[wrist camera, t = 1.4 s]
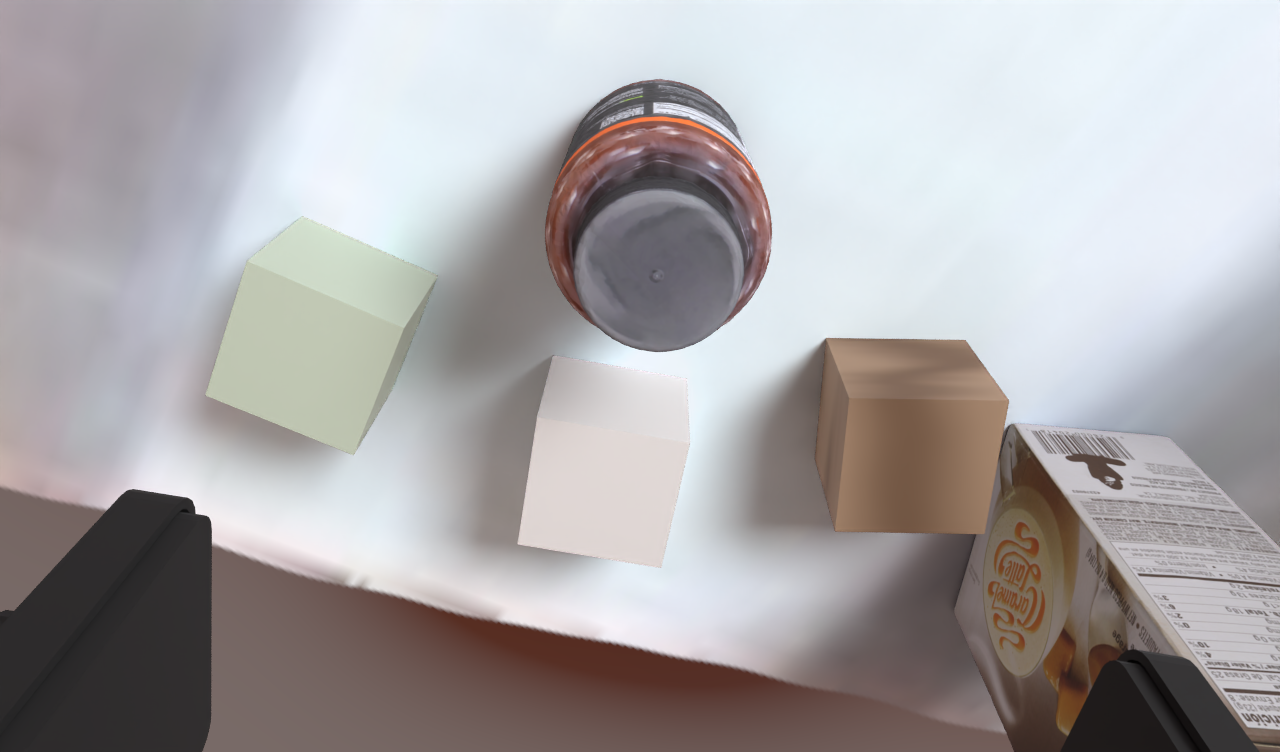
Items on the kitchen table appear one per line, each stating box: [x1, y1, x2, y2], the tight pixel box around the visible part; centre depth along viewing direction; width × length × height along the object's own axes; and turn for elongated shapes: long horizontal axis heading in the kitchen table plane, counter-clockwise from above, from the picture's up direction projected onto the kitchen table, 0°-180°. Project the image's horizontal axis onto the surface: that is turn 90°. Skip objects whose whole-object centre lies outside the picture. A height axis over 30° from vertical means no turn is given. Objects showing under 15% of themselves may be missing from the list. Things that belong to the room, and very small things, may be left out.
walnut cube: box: [815, 338, 1009, 534], centre depth 34 cm, size 5×5×5 cm
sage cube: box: [205, 216, 438, 455], centre depth 33 cm, size 5×5×5 cm
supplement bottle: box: [545, 79, 772, 352], centre depth 28 cm, size 6×6×11 cm
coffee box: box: [954, 423, 1280, 752], centre depth 31 cm, size 9×6×16 cm
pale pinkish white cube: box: [518, 355, 690, 568], centre depth 35 cm, size 5×5×5 cm
